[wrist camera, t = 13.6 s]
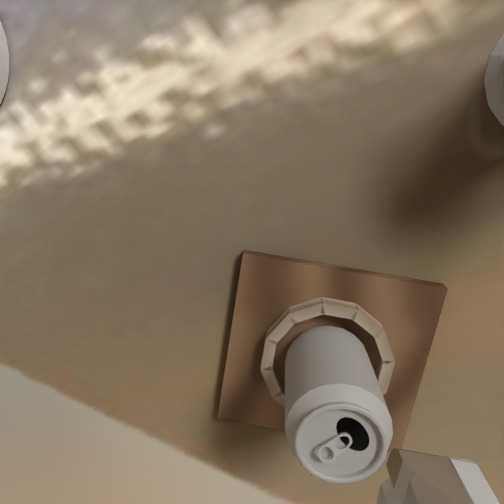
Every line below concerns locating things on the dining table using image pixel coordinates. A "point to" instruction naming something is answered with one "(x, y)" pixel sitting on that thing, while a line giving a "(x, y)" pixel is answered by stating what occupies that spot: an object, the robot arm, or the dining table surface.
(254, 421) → the seat board
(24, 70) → the dining table surface
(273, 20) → the dining table surface
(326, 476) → the can
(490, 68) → the french press
